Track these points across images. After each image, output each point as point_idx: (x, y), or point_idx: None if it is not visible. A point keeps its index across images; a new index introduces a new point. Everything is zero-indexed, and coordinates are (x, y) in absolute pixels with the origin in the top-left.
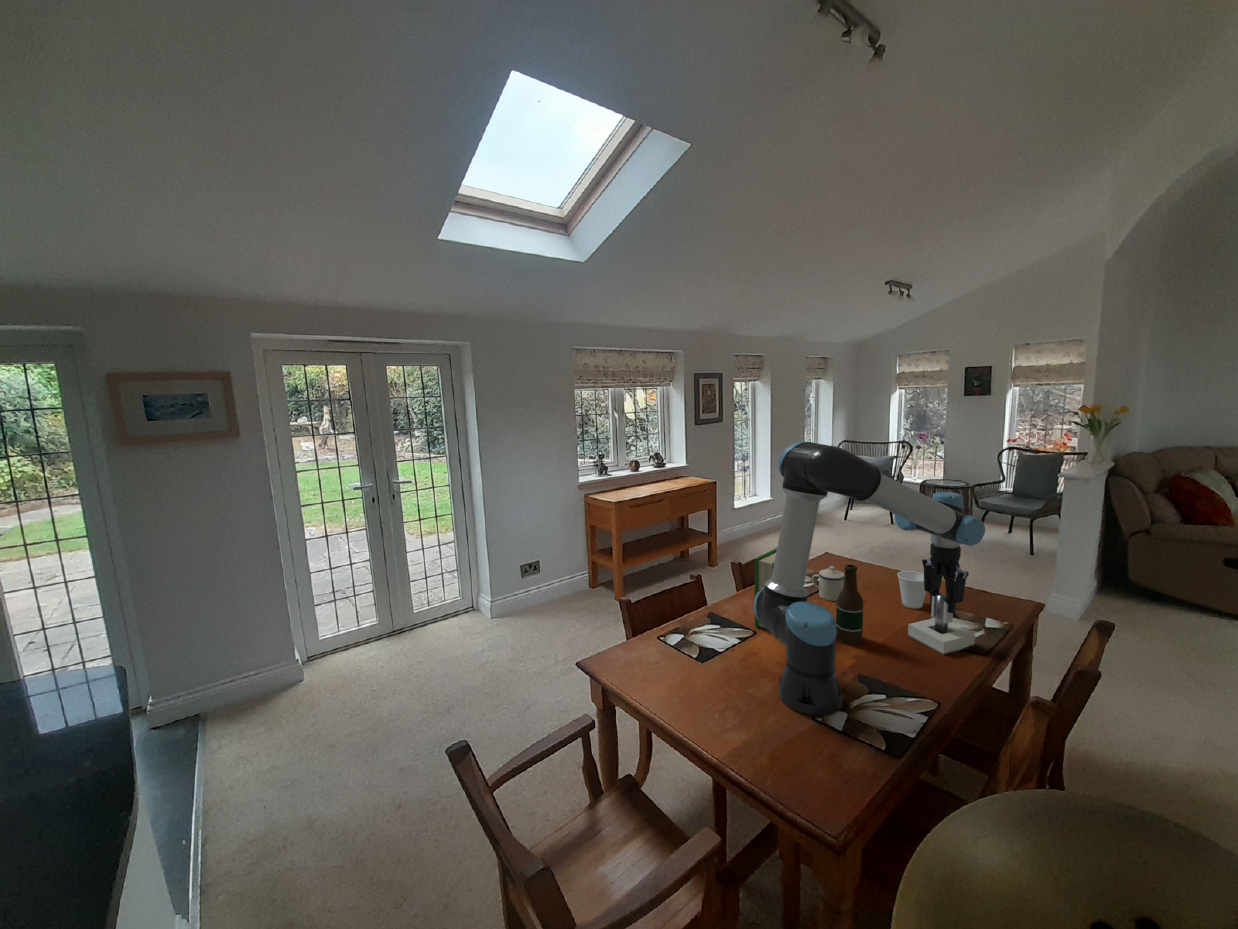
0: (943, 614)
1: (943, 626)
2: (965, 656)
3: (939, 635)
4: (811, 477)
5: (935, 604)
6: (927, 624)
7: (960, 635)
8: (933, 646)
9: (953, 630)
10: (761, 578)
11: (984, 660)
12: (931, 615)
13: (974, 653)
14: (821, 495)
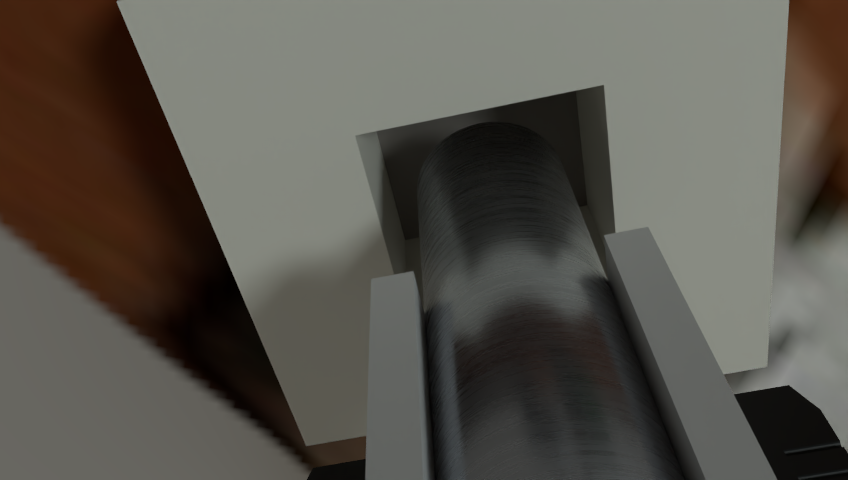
0: (441, 371)
1: (426, 240)
2: (144, 168)
3: (326, 78)
4: None
5: (681, 446)
6: (665, 136)
7: (300, 315)
8: None
9: None
10: None
11: (71, 276)
12: (645, 239)
13: (205, 279)
14: None
